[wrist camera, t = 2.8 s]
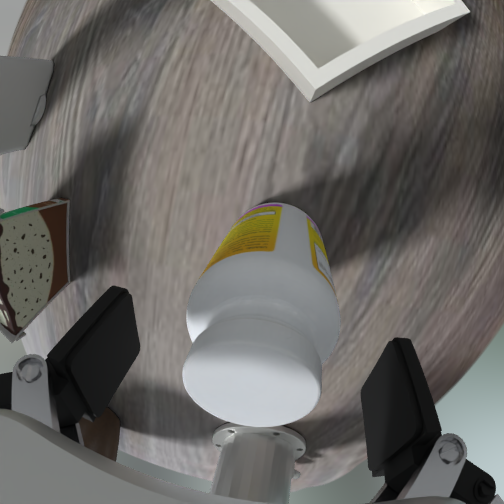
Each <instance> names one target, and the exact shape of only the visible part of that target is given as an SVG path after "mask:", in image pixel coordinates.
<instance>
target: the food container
mask: <svg viewBox="0 0 504 504" xmlns="http://www.w3.org/2000/svg"><path fill="white" fill-rule="evenodd" d="M69 207H70V200H69V199H65V198H58V199H53V200H49V201H45V202H41V203H37V204H33V205H30V206H26V207H22V208H19V209H15V210H12V211H9V212H5V213H3V212H4V210H3V209H1V208H0V331H1V333H2V334H3V335H4V336H5V337H6V338H7V339H8V340H9V341H10V342H11V343H13V342H14V341H15V340H16V341H18V340H19V339H21V338H22V337H23V336H25V335H26V333H25V332H23V331H24V330H25V329H26V328H27V327H28V325H29V324H30V323H31V322H32V321H33V320H34V319H35V318H36V317H37V316H38V315H39V314H40V313H41V312H42V311H43V309H44V308H45V307H46V306H47V305H48V304H49V303H50V302H51V301H52V300H53V299H54V298H55V297H56V296H57V295H58V294H59V293H60V292H61V291H62V290H63V289H64V288H65V287H67V286H68V285H69V284H70V269H69Z"/></svg>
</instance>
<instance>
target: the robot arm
mask: <svg viewBox="0 0 504 504" xmlns="http://www.w3.org/2000/svg"><path fill="white" fill-rule="evenodd" d="M139 351H140V342H139V337H138V331H137V326H136V320H135V314H134V307H133V300H132V296H131V294H129V292H128V290H127V289H125V288H121V287H117V286H111V287H110V288H109V289H108V290H107V291H106V292H105V293H104V294H103V295H102V296H101V297H100V298H99V299H98V300H97V301H96V302H95V303H94V304H93V305H92V306H91V307H90V308H89V310H88V311H87V312H86V313H85V314H84V315H83V316H82V317H81V318H80V319H79V320H78V321H77V322H76V323H75V324H74V326H73V327H72V328H71V329H70V330H69V331H68V332H67V333H66V334H65V335H64V337H63V338H62V339H61V340H60V341H59V342H58V343H57V344H56V346H55V347H54V348H53V349H52V350H51V351H50V352H49V354H48V355H47V357H48V358H47V359H46V360H44V358H42V357H41V356H39V355H36V354H30V355H26V356H24V357H22V358H20V359H19V360H18V361H17V362H16V364H15V366H14V368H13V372H9V373H4V374H0V504H289V496H290V487H291V479H292V478H293V479H297V478H299V477H300V475H301V474H300V472H298V471H297V470H295V469H294V465H295V460H297V459H298V458H300V457H301V456H302V455H303V454H304V453H305V450H306V442H305V439H304V438H303V437H302V436H301V435H300V434H299V433H297V432H296V431H294V430H292V429H290V428H287V427H284V426H281V425H280V426H273V427H252V426H244V425H239V424H235V423H227V424H224V425H222V426H220V427H218V428H217V429H216V430H215V431H214V434H213V437H212V442H213V445H214V446H215V447H216V448H217V450H219V451H220V456H219V460H218V464H217V467H216V471H215V475H214V478H213V482H212V486H211V489H210V493H206V492H202V491H197V490H194V489H190V488H186V487H183V486H179V485H176V484H173V483H169V482H167V481H163V480H160V479H158V478H155V477H152V476H149V475H146V474H144V473H141V472H138V471H136V470H133V469H131V468H129V467H126V466H124V465H121V464H119V463H117V462H115V461H113V460H110V459H108V458H106V457H104V456H102V455H100V454H98V453H96V452H94V451H92V450H90V449H88V448H86V447H85V446H84V442H83V438H82V434H81V429H80V425H79V421H80V420H81V418H82V417H84V418H85V419H87V420H89V421H91V422H94V421H95V419H96V417H100V416H101V415H102V414H103V412H104V410H105V409H106V407H107V405H108V403H109V402H110V400H111V398H112V397H113V395H114V393H115V392H116V390H117V388H118V387H119V385H120V383H121V382H122V380H123V378H124V377H125V375H126V373H127V372H128V370H129V369H130V367H131V365H132V364H133V362H134V360H135V359H136V357H137V356H138V354H139ZM361 402H362V409H363V417H364V426H365V435H366V445H367V457H368V468H369V470H371V471H372V476H373V477H377V476H385V483H384V485H383V486H382V488H381V489H380V490H379V491H378V493H377V494H376V495H375V496H374V498H373V499H372V500H371V502H370V503H367V504H504V502H503V500H502V499H501V498H500V496H499V495H498V494H497V495H495V491H496V485H495V481H494V479H493V478H492V477H491V476H490V475H489V474H488V473H486V472H485V471H483V470H482V469H480V468H479V467H477V466H476V465H474V464H473V463H471V462H470V461H468V460H467V459H466V457H467V448H466V445H465V443H464V442H463V440H462V439H461V438H460V437H459V436H458V435H455V434H449V433H447V434H444V435H442V434H441V431H442V430H441V426H440V422H439V419H438V415H437V412H436V409H435V406H434V402H433V399H432V396H431V393H430V390H429V387H428V384H427V381H426V379H425V376H424V373H423V370H422V367H421V365H420V362H419V359H418V357H417V354H416V352H415V349H414V347H413V344H412V342H411V340H410V339H408V338H394V339H393V340H392V341H389V342H388V344H387V346H386V347H385V349H384V351H383V353H382V355H381V356H380V358H379V360H378V362H377V363H376V365H375V367H374V369H373V370H372V372H371V374H370V375H369V377H368V379H367V380H366V382H365V383H364V385H363V387H362V389H361Z"/></svg>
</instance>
